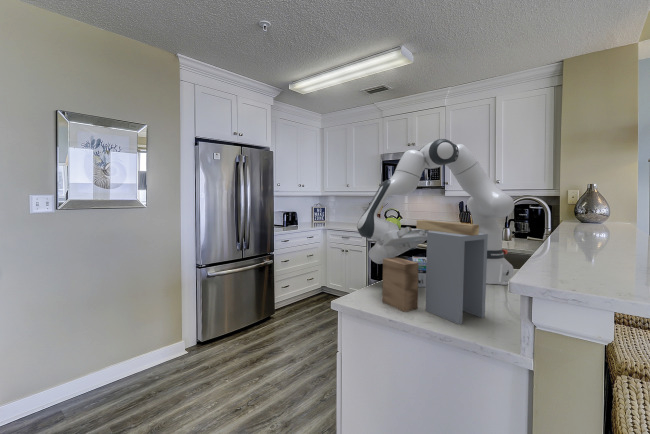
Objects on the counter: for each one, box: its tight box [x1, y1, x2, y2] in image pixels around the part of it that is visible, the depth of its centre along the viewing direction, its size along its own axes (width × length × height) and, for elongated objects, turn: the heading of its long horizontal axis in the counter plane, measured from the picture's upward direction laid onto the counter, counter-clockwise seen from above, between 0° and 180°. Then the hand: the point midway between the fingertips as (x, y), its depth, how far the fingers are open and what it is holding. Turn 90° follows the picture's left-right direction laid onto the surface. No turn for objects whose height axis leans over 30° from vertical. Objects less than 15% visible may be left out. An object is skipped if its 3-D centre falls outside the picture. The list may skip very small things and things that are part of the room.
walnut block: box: [381, 256, 419, 313], centre depth 110 cm, size 6×11×16 cm, turn 29°
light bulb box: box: [411, 256, 427, 288], centre depth 136 cm, size 11×7×11 cm, turn 168°
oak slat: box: [415, 219, 479, 236], centre depth 105 cm, size 4×22×3 cm, turn 29°
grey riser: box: [424, 231, 488, 325], centre depth 102 cm, size 12×13×26 cm
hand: (419, 228), depth 115 cm, fingers open, 8 cm apart
